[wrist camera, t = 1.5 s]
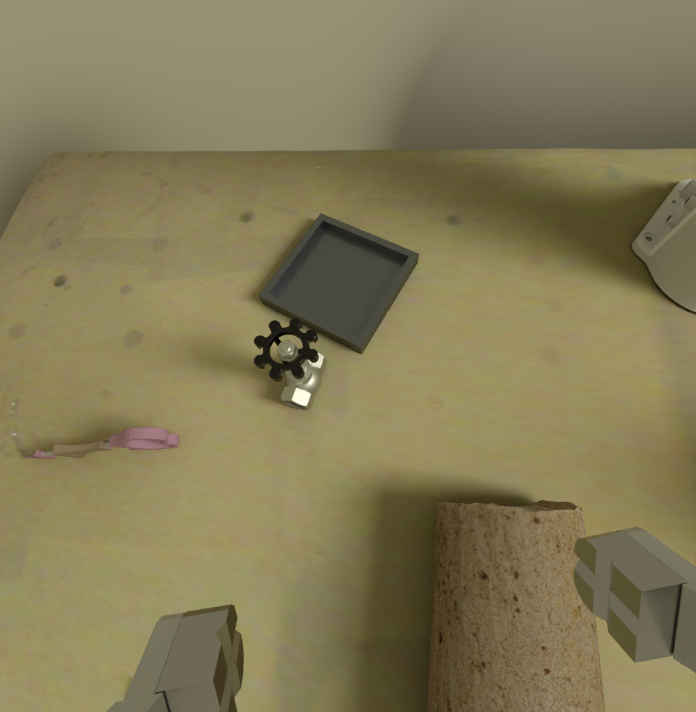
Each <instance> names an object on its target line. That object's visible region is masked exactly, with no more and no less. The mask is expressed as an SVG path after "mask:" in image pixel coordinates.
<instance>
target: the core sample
mask: <svg viewBox="0 0 696 712" xmlns="http://www.w3.org/2000/svg"><path fill="white" fill-rule="evenodd" d="M584 537H586V532H585V524H584V515H583V511H582V509H581V508H580V507H577V506H576V505H575V504H573V503H570V502H553V501H544V500H541V501H538V502H535V503H533V504H532V505H525V506H510V505H498V504H495V503H485V504H482V503H477V502H474V503H459V502H451V501H445V502H440V501H437V502H436V504H435V515H434V555H433V592H432V618H431V636H430V656H429V680H428V698H427V712H605V708H604V696H603V684H602V675H601V666H600V657H599V649H598V641H597V631H596V621H595V615H594V614H592V612H591V611H590V610H589V609H588V608H587V606H586V605H585V604H584V603H583V601H582V599H581V598H580V596H579V594H578V592H577V589H576V586H575V583H574V567H575V566H576V564H577V563H578V561H579V560H580V559H579V558H578V557H577V555H576V554H575V553H574V550H575V543H576V541H577V540H578V539H579V538H584Z"/></svg>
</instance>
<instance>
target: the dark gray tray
mask: <svg viewBox="0 0 696 712" xmlns="http://www.w3.org/2000/svg"><path fill="white" fill-rule="evenodd" d="M418 257H419V254H418V253H416V252H413V251H411V250H408V249H406V248H404V247H401V246H399V245H396V244H394V243H391V242H389V241H387V240H384V239H382V238H379V237H377V236H375V235H372V234H370V233H367V232H365V231H362V230H360V229H358V228H355V227H353V226H350V225H348V224H345V223H343V222H341V221H338V220H336V219H333V218H331V217H328V216H326V215H324V214H320V215H319V216H318V218H317V219H316V220H315V222H314V223H313V224H312V226H311V227H310V228H309V230H308V231H307V232H306V234H305V235H304V236H303V238H302V239H301V240H300V242H299V243H298V244H297V246H296V247H295V248H294V250H293V251H292V252H291V254H290V255H289V256H288V257H287V259H286V260H285V261H284V263H283V264H282V265H281V267H280V268H279V269H278V271H277V272H276V273H275V275H274V276H273V277H272V279H271V280H270V281H269V283H268V284H267V285H266V287H265V288H264V289H263V291H262V292H261V293H260V295H259V298H260V300H261V301H262V303H263V304H265V305H267V306H269V307H271V308H273V309H275V310H276V311H278V312H280V313H282V314H284V315H286V316H288V317H290V318H292V319H293V318H298V319H299V320H300V321H301V323H302V324H304V325H306V326H308V327H310V328H312V329H314V330H316V331H318V332H320V333H322V334H324V335H326V336H327V337H329V338H331V339H333V340H335V341H337V342H339V343H341V344H343V345H345V346H347V347H349V348H351V349H353V350H355V351H357V352H359V353H361V354H362V353H363V351H364V350H365V348H366V347H367V345H368V343H369V342H370V340H371V338H372V337H373V335H374V333H375V332H376V330H377V328H378V327H379V325H380V324H381V322H382V320H383V319H384V317H385V315H386V314H387V312H388V310H389V309H390V307H391V305H392V304H393V302H394V301H395V299H396V297H397V296H398V294H399V292H400V291H401V289H402V287H403V286H404V284H405V283H406V281H407V279H408V278H409V276H410V274H411V273H412V271H413V269H414V268H415V266H416V264H417V263H418Z"/></svg>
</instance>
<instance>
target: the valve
mask: <svg viewBox="0 0 696 712" xmlns="http://www.w3.org/2000/svg"><path fill="white" fill-rule="evenodd" d="M269 328H270V330H271V332H272V333H271V334H270V335H269V336H268V337H266V338H265V337H264V336H261V335H260V336H257V337H256V338H255V339H254V343H255V345H256V346H257V347H258V348H259V349H261V348H263V354H262V355H258V356H256V357H255V359H254V363H255V365H256V366H257V367H258V368H259V369H264V368H265V367H264V366H265V365H266V364H269V365H270V366H271V367H272V369H271V370H270V372H269V375H270V377H271V378H272V379H273V381H276V382H278V381H280V380H282V378H283V377H282V373H284V372H285V373H286V376H287V380H286V383H287V387H286V386H285V388H284V390H283V393H282V395H281V398H280V399H281V401H282V402H283V403H285V404H287V405H289V406H291V407H294V408H297V409H301V410H310V407H311V404H312V402H313V399H314V398H313V395H314V394H315V393H316V392H317V391H318V389H319V388H320V385H321V381H322V376H321V373H323V370H324V367H325V365H326V359H325V357H324V356H322V355H321V354H319V353H317V351H316V350H315V349H310V346H309V343H310V342H313V341H314V343H315V342H316V341H317V340H318V336H317V334H316V332H315V331H314V330H308V331H307V332H306V333H302V332H301V331H300V330H299V329H300V328H301V329H302V323H301V321H300V320H299V319H298V318H293V319H292V320H291V321H290V325H289V327H285V328H282V327H281V325H280V323H279V322H278V321H276V320H274V321H271V322H270V324H269ZM283 335H294V336H296V337H298V338H299V339H300V340H301V341H302V343H303V348H301V349H298V348H297V347H296V345H295V344H293V343H292V342H291V341H290V340H287V341H283V342H281V341H280V339H279V337H280V336H283ZM273 342H275V343H276V345H277V346H278V349H277V351H278V355H279V357H280V359H281V360H282V362H283V364H280V363H277V362H275V361H274V360H273V359H272V358H271V355H270V348H271V345H272V344H273Z"/></svg>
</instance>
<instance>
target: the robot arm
mask: <svg viewBox="0 0 696 712" xmlns="http://www.w3.org/2000/svg"><path fill="white" fill-rule="evenodd" d="M632 249H633V251H634V252H635V253H636V254H637V255H638V256H639V257H640V258H641V259H642V260H643V261H644V262H645V263H646V265H647V266H648V268H649V271H650V273H651V275H652V277H653V279H654V280H655V282H656V283H657V285H658V286H659V287H660V288H661V290H662V291H663V292H664V293H665V294H666V295H668V296H669V297H670V298H671V299H672V300H674V301H675V302H677V303H678V304H680V305H682V306H683V307H685V308H687V309H689V310H691V311H694V312H696V179H687V180H682V181H680V182H679V183H678V184H677V185H676V186H675V187H674V188H673V189H672V190H671V192H670V193H669V194H668V196H667V197H666V198H665V200H664V201H663V203H662V204H661V205H660V207H659V208H658V209H657V211H656V212H655V213H654V215H653V216H652V217H651V219H650V220H649V221H648V223H647V224H646V225H645V227H644V228H643V229H642V231H641V232H640V233H639V235H638V236H637V237H636V239H635V240H634V241H633V243H632ZM574 553H575V554H576V555H577V557H578V558H579V559H580V560H579V561H578V563H577V564H576V566H575V567H574V583H575V586H576V589H577V592H578V594H579V596H580V598H581V599H582V601H583V603H584V604H585V605H586V606H587V608H588V609H589V610H590V611H591V612H592V614H594V615H596V616H597V617H599V618H601V619H603V620H605V621H607V626H608V632H609V634H610V635H611V636H612V637H613V638H614V639H615V641H616V642H617V643H618V644H619V645H620V646H621V647H622V649H623V650H624V651H625V652H626V653H627V654H628V656H629V657H630V658H631V659H632V660H633V661H634V663H636V662H642V661H647V660H652V659H658V658H663V657H668V656H673V658H674V659H675V660H677V661H678V662H680V663H681V664H683V665H684V666H686V667H688V668H689V669H691V670H692V671H694V672H695V673H696V567H694V566H693V565H692V564H690V563H689V562H688V561H686V560H685V559H684V558H682V557H681V556H679V555H678V554H677V553H675V552H674V551H673V550H671V549H670V548H669V547H667V546H666V545H665V544H663V543H662V542H661V541H659V540H658V539H657V538H655V537H654V536H652V535H651V534H650V533H648V532H647V531H646V530H644V529H641V528H639V527H633V528H628V529H623V530H618V531H616V532H609V533H604V534H599V535H594V536H589V537H584V538H579V539H578V540H577V541H576V543H575V550H574ZM236 623H237V614H236V610H235V606H234V605H232V604H231V605H225V606H218V607H212V608H206V609H200V610H194V611H187V612H185V613H178V614H172V615H166V616H162V617H161V618H160V619H159V621H158V622H157V623H156V625H155V628H154V630H153V632H152V635H151V637H150V639H149V642H148V644H147V647H146V649H145V651H144V654H143V656H142V658H141V661H140V663H139V666H138V668H137V670H136V673H135V675H134V677H133V680H132V682H131V685H130V687H129V689H128V692H127V694H126V696H125V699H124V700H123V701H119V702H116V703H115V704H114V705H113V706H112V707H111V708H110V709H109V710H108V711H107V712H237V708H236V704H235V699H234V697H235V696H236V695H237V693H238V692H239V690H240V689H241V685H242V678H243V665H244V652H243V642H242V637H241V634H240V633H239V632H238V631H236V630H235V628H236Z"/></svg>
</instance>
